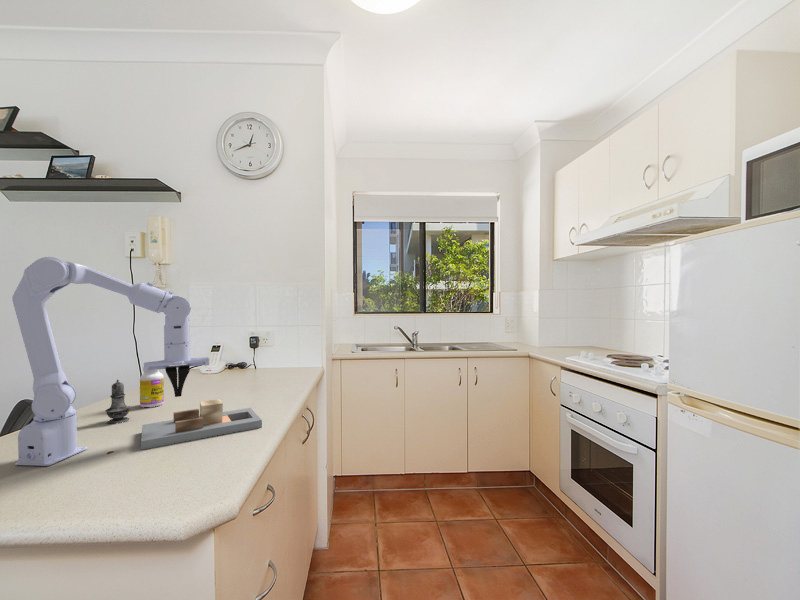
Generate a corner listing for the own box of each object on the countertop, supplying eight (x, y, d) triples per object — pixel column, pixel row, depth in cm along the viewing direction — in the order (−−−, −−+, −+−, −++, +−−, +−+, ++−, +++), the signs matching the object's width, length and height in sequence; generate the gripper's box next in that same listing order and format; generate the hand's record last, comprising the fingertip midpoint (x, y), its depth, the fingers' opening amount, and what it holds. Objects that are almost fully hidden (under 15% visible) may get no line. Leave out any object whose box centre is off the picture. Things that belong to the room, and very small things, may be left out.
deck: (141, 449, 90) (141, 441, 90) (142, 432, 102) (142, 424, 102) (261, 427, 105) (261, 419, 105) (250, 414, 117) (250, 407, 117)
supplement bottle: (150, 409, 124) (149, 368, 124) (135, 407, 126) (134, 367, 126) (168, 403, 130) (168, 365, 130) (153, 401, 132) (153, 364, 132)
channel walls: (175, 432, 95) (175, 422, 95) (173, 421, 104) (173, 412, 104) (203, 428, 99) (202, 418, 99) (198, 417, 107) (198, 408, 107)
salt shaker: (135, 418, 115) (135, 377, 114) (119, 424, 109) (118, 381, 109) (117, 417, 115) (116, 377, 115) (100, 424, 109) (99, 381, 109)
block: (201, 425, 101) (201, 405, 101) (199, 420, 105) (200, 401, 105) (222, 422, 104) (222, 403, 104) (220, 417, 108) (220, 399, 108)
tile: (208, 432, 101) (208, 425, 101) (205, 425, 107) (205, 418, 107) (231, 428, 104) (231, 421, 104) (227, 421, 110) (227, 415, 110)
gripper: (143, 346, 93) (144, 403, 93) (210, 342, 101) (211, 394, 101) (143, 344, 99) (144, 397, 99) (206, 340, 107) (207, 389, 107)
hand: (178, 395), depth 100 cm, fingers closed
